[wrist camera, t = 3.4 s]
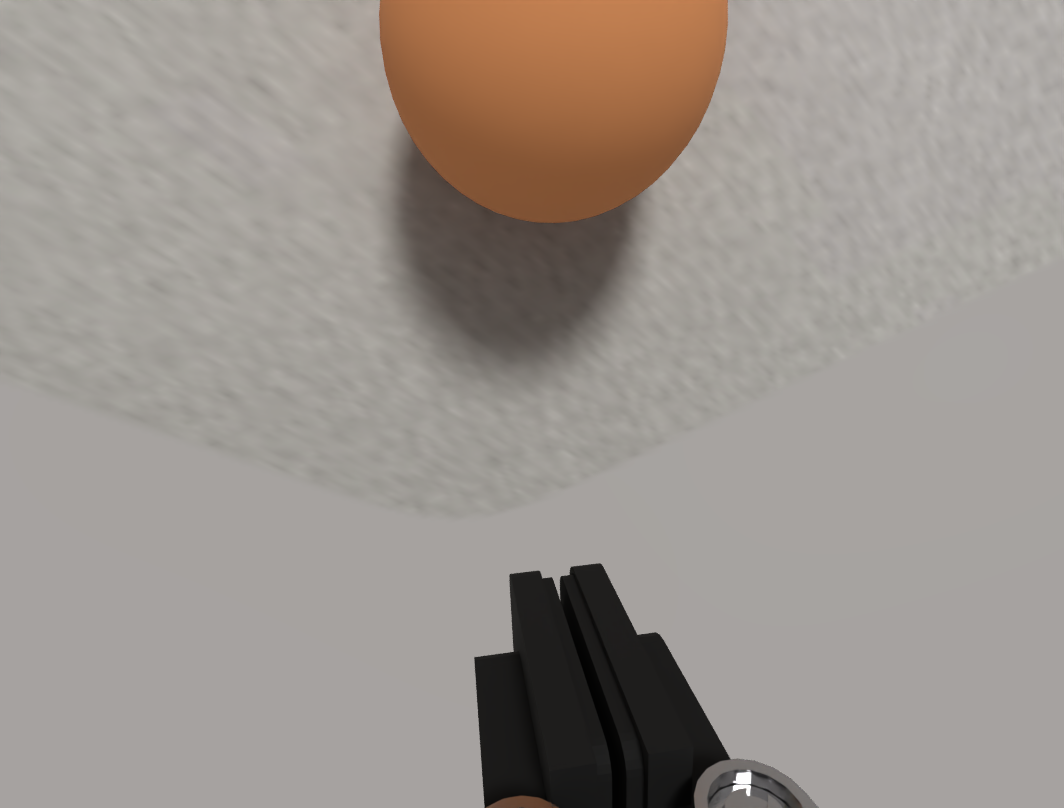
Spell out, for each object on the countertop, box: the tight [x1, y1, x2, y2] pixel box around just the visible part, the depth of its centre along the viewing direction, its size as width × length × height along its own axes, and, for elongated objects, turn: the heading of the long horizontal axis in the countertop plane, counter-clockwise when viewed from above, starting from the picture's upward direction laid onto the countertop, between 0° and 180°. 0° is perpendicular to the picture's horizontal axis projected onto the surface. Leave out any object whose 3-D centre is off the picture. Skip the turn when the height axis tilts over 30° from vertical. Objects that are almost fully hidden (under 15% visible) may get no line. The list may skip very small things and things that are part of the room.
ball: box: [379, 0, 728, 223], centre depth 9 cm, size 6×6×6 cm
